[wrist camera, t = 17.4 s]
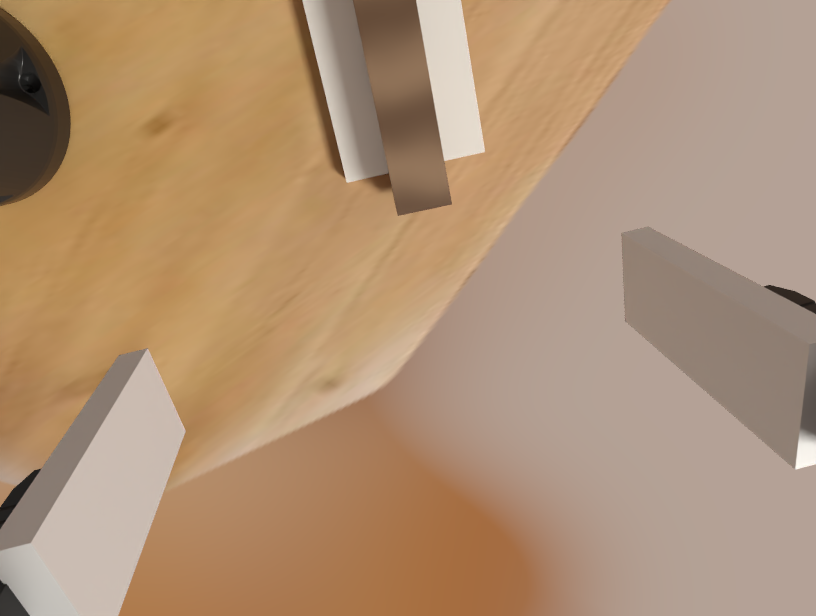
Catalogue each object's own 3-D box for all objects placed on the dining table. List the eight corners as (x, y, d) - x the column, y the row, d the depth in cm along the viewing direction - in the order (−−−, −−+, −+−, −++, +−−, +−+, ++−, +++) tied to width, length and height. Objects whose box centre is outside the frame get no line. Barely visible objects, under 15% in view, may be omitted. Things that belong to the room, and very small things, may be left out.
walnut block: (445, 196, 45) (451, 204, 41) (395, 207, 45) (397, 215, 41) (373, -204, 36) (373, -241, 33) (313, -191, 36) (306, -226, 33)
